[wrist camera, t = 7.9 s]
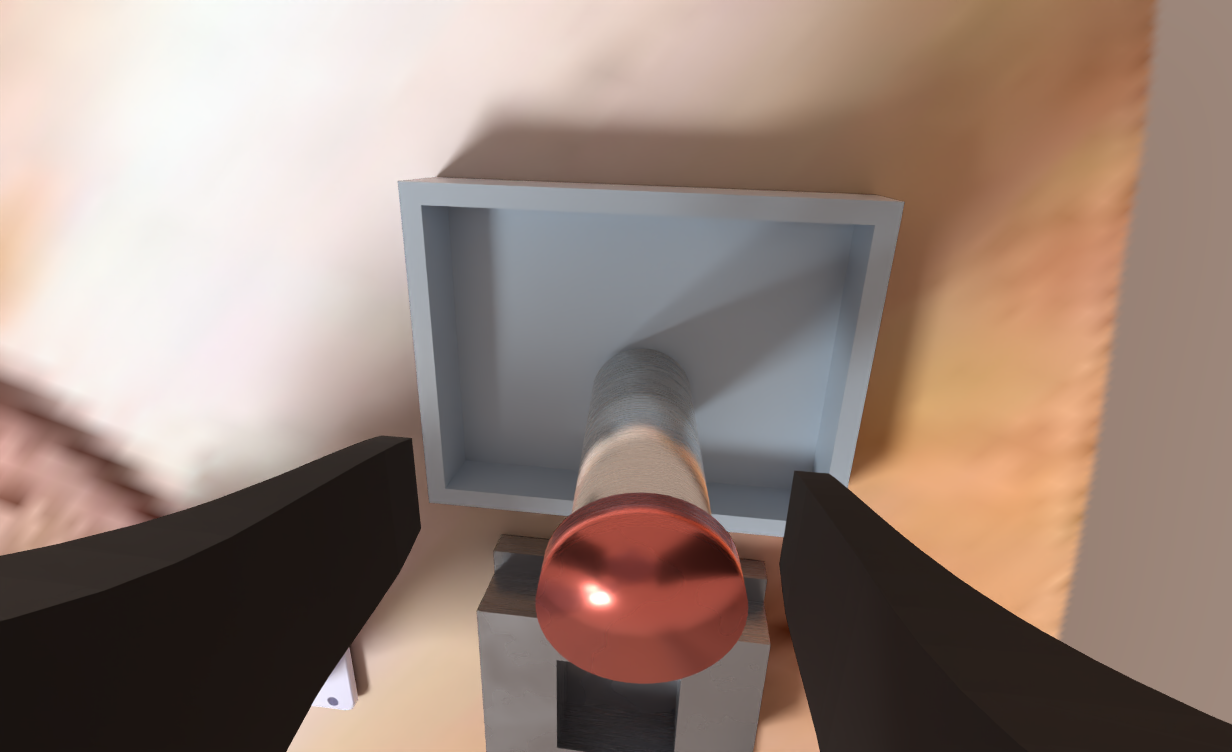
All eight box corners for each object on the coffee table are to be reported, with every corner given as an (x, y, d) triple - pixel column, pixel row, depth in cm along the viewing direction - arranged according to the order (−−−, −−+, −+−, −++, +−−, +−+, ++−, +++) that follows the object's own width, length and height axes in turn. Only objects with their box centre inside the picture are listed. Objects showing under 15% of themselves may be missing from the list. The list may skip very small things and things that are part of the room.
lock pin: (582, 445, 20) (542, 680, 12) (577, 336, 18) (528, 524, 10) (699, 447, 20) (739, 686, 12) (706, 337, 18) (757, 529, 10)
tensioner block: (514, 810, 29) (495, 880, 26) (501, 534, 23) (475, 587, 20) (722, 841, 28) (725, 918, 25) (763, 561, 22) (774, 621, 19)
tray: (456, 465, 22) (428, 502, 20) (434, 177, 18) (397, 181, 16) (820, 498, 21) (836, 542, 18) (875, 194, 17) (904, 201, 15)
